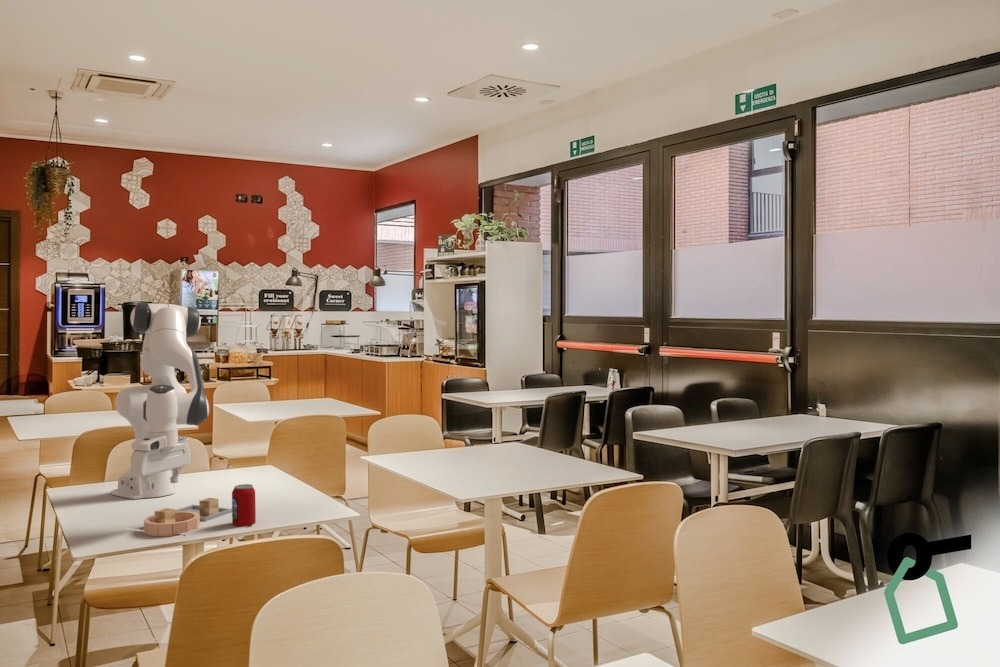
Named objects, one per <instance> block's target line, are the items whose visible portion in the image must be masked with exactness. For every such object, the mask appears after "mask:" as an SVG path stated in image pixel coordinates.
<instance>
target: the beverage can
mask: <svg viewBox="0 0 1000 667" xmlns="http://www.w3.org/2000/svg"><path fill="white" fill-rule="evenodd" d="M231 509H232V512H231V514H232V515H231V516H232V518H231V519H232V520H231V521H232V525H233V526H235V527H246V528H249V527H252V526H253V525H255V523H256V516H257V515H256V489H255V488H254V485H253V484H249V483H248V484H247V483H246V484H237V485H235V486H234V487H233V489H232V492H231Z"/></svg>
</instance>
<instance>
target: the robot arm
mask: <svg viewBox="0 0 1000 667" xmlns="http://www.w3.org/2000/svg"><path fill="white" fill-rule="evenodd" d="M129 319H130V324H131V326H132V327H131V329H133V330H134V331H135V332H137V333H140V334H145V335H144V339H143V343H142V351H141V357H140V362H139V363H140V364H139V365H140V368H141V370H142V372H143V373H144V374H146V375H147V376H149V377H151V384H146V385H144V384H143V385H136V386H135V385H134V386H130V387H127V388H124V389H121V390H120V391H119V392H117V395H116V396H115V398H114V399H115V401H114V406H115V410H116V411H117V413H118V414H119V415H120V416H122V417H123V418H125V419H126V420H127V421H128V423H129V424H130V426H131V427H132V429H133V432H134V436H135V441H133V442H131V449H132V450H133V451H132V453H131V456H130V467H129V468H128V469H127V470H126V471H125V472H123V473H122V474H121V475H119V477H118V482H117V488H116V489H113V490H111V491H110V492H109V493H110V495H111V496H116V497H120V498H125V499H126V498H127V499H130V500H137V499H149V498H150V499H151V498H157V497H158V498H159V497H166V496H169V495H173V494H174V493H176V491H177V490H176V487H175V484H177V483H179V477H180V475H181V472H182V468H184V467H188V466H190V464H191V463H192V462H191V461H192V458H191V457H192V456H191V449H190V448H191V447H190V445H189V439H188V438H187V437H186V436H184V435H181V436H179V429H178V428H179V427H178V425H179V426H180V425H188V426H199V425H201V424H202V423H204V422H205V421H206V420H208V418H209V413H210V404H209V400H208V399H207V396H206V393H205V388H204V387H205V386H204V382H203V375H202V371H201V366H200V362H199V358H198V353H196V351H195V350H194V349H192V348H191V347H190V346H189V344H188V342H187V338H192V337H194V336H195V335H197V334H198V332H199V330H200V328H201V323H202V321H201V320H202V318H201V316H200V312H199V311H198V308H197V309H196V308H194V307H190V306H184V305H179V304H173V303H168V304H167V303H152V302H151V303H149V302H147V301H146V302H139V303H137V304H135V305H134V307H133V309H132V311H131V313H130V318H129ZM175 369H178V370H180V371H182V372H184V373H186V375H187V378H188V382H189V388H190V391H189V392H188V393H187V390H186V388H185V387H184V386H183V385H181V384H180V382H178V379H177V377H176V373H175V372H176V371H175Z"/></svg>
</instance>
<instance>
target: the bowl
mask: <svg viewBox="0 0 1000 667" xmlns="http://www.w3.org/2000/svg"><path fill="white" fill-rule="evenodd" d="M200 524H201V521H200V515H199V514H198V513H196V512H188V511H177V512H175V522H174V523H155V514H152V515H149V516H147V517H146V518H145V519H143V531H144V534H145V535H147V536H150V537H157V538H159V537H161V538H162V537H163V538H164V537H165V538H166V537H176V536H181V535H183V534H182V533H186V532H191V531H193V530H195V529H196V530H197V529H198V528H199V526H200Z"/></svg>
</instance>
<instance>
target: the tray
mask: <svg viewBox="0 0 1000 667" xmlns="http://www.w3.org/2000/svg"><path fill="white" fill-rule="evenodd" d="M218 508H219V513H216V514H213V515H210V516H207V517H202V516H200V522H201V521H202V522H207V521H211V520H214V519H217V518H220V517H223V516H225V515H228V514H232V508H228V507H227V508H226V507H219V506H218ZM177 511H188V512H196V513H198V514H199V515H200V510H199V505H198V504H191V505H187V506H184V507H182V508H178V509H175V512H177Z"/></svg>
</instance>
